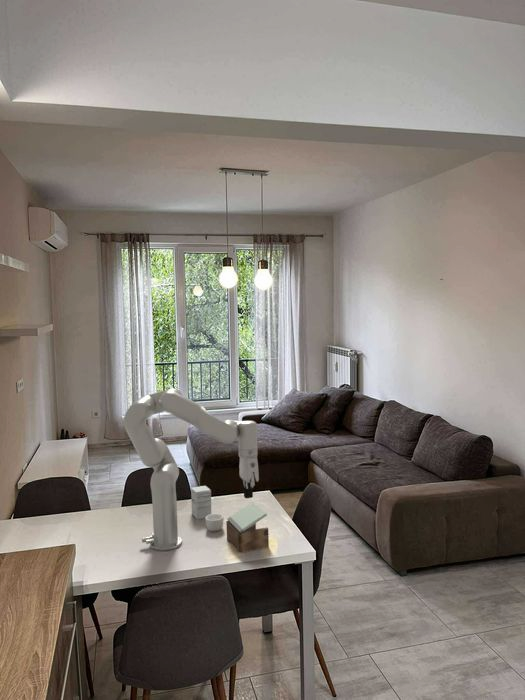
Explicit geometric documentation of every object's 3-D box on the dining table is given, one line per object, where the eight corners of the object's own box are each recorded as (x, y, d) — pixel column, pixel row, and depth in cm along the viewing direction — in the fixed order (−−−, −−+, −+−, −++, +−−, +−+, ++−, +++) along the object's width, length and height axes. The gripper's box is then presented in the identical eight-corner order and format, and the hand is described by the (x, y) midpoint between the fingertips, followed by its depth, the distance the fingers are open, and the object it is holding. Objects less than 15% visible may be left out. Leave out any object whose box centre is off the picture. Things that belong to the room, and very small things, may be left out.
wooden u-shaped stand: (239, 553, 211) (238, 534, 210) (226, 538, 225) (226, 520, 224) (269, 547, 216) (268, 528, 215) (254, 533, 229) (254, 515, 229)
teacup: (221, 533, 230) (221, 520, 230) (203, 532, 231) (203, 520, 231) (226, 524, 240) (225, 512, 240) (209, 523, 241) (208, 511, 241)
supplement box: (191, 514, 253) (190, 487, 252) (206, 511, 256) (205, 485, 255) (196, 519, 246) (195, 492, 245) (212, 516, 249) (211, 489, 248)
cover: (240, 533, 211) (239, 531, 211) (228, 520, 224) (227, 518, 224) (267, 515, 215) (266, 513, 215) (253, 504, 228) (252, 502, 228)
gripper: (264, 455, 213) (264, 502, 214) (249, 447, 226) (250, 490, 228) (246, 457, 210) (246, 504, 211) (232, 448, 223) (233, 493, 225)
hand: (248, 497), depth 219 cm, fingers closed
